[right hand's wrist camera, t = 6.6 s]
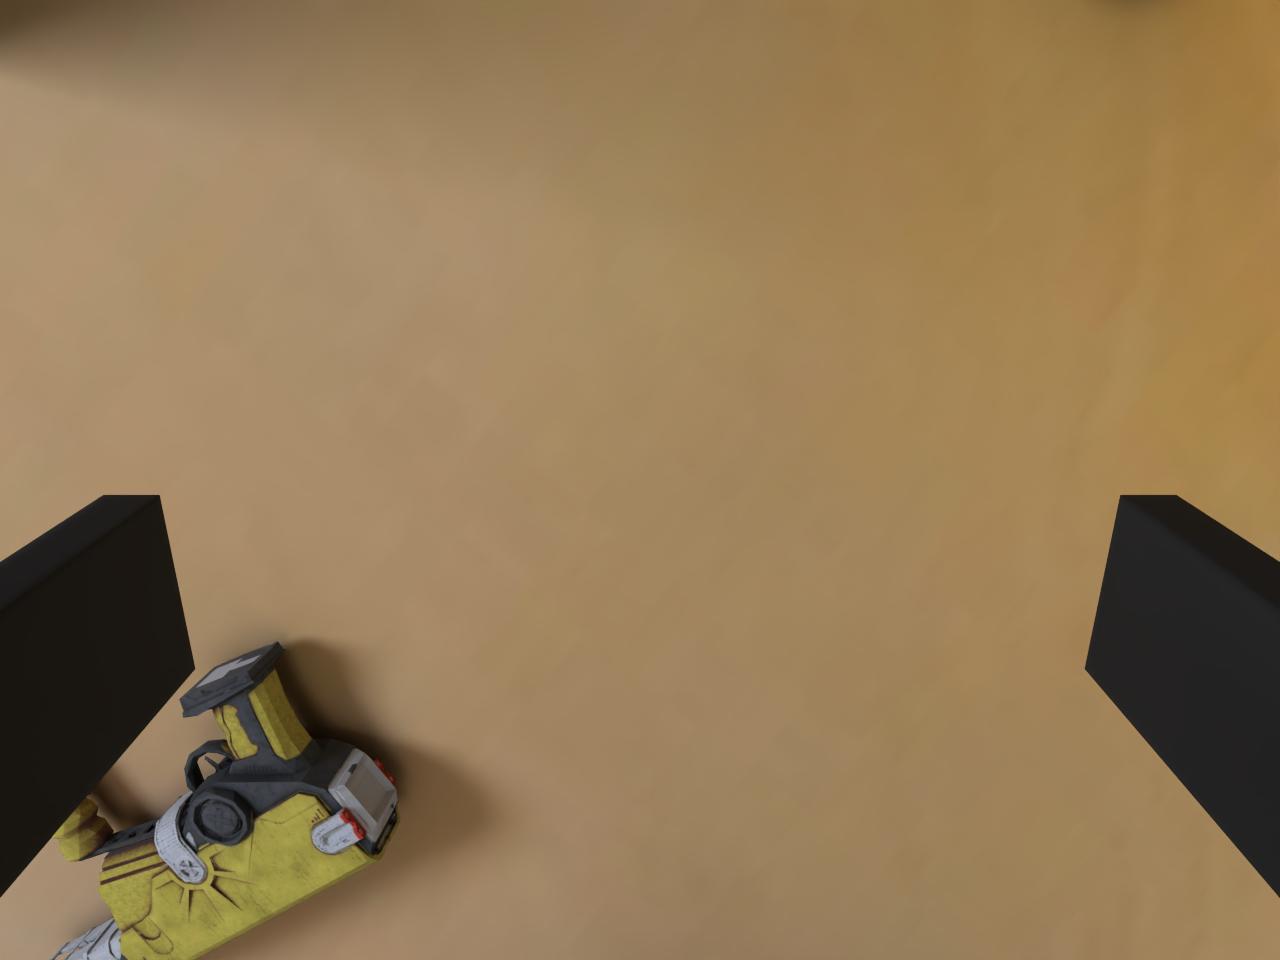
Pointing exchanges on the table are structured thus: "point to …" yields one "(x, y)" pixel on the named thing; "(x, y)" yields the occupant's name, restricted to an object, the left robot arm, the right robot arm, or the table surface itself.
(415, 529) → the table surface
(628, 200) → the table surface
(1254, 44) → the table surface
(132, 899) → the toy gun
